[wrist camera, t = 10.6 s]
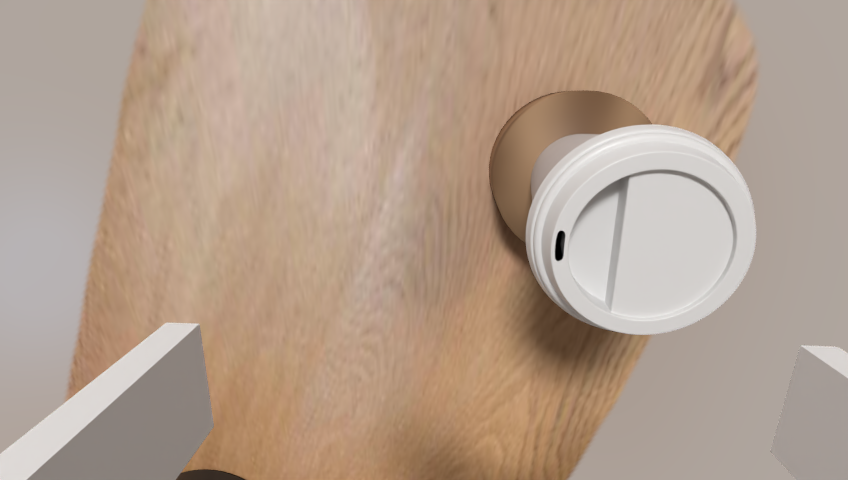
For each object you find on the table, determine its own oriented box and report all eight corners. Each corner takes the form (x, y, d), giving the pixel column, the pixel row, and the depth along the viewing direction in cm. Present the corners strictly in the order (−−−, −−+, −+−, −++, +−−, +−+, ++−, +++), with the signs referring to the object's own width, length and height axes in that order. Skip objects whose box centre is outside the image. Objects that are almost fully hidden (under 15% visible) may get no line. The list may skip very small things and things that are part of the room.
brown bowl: (485, 235, 40) (489, 254, 35) (492, 90, 36) (498, 89, 31) (626, 239, 39) (650, 259, 34) (649, 91, 35) (679, 91, 31)
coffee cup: (546, 88, 31) (601, 87, 17) (674, 143, 31) (835, 188, 17) (487, 213, 34) (492, 300, 20) (604, 263, 34) (691, 384, 20)
